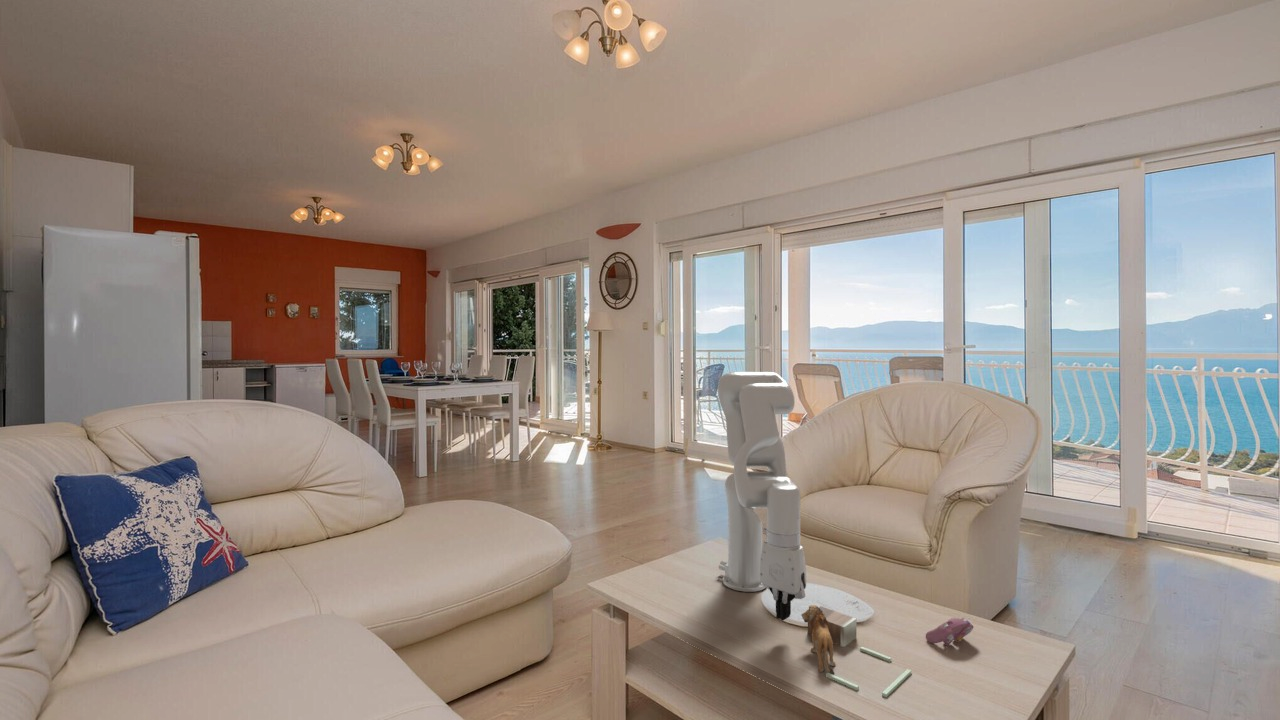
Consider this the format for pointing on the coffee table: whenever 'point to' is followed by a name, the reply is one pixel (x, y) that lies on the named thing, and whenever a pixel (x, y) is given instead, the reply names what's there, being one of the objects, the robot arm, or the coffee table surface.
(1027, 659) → the coffee table surface
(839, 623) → the walnut block
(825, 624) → the lion figurine
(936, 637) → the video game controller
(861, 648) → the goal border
